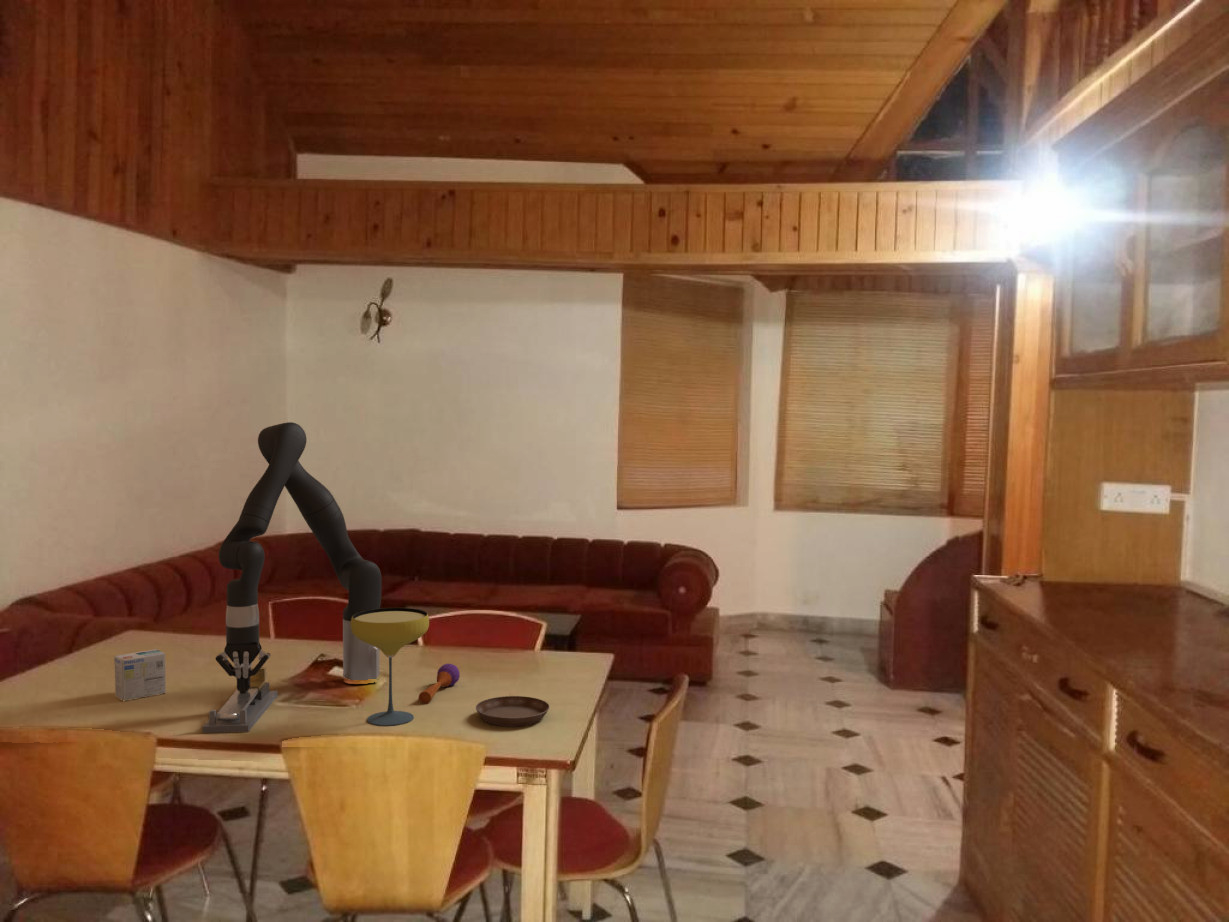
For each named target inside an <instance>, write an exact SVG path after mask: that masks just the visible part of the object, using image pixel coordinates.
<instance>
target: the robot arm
mask: <svg viewBox="0 0 1229 922" xmlns="http://www.w3.org/2000/svg"><path fill="white" fill-rule="evenodd" d="M257 445H258V449H259V450H260V453H261V455H262V456H263V458H264V460H265V461H266V462H267V463H268V465H267V466H268V467H267V468H266V470H265V471H264V473H263V474H262V476H261V477H260V478H259V479H258V481H257V483H256V484H255V485H254V487H253V488H252V489H251V491H250V493H249V494H248V496H247V498H246V499H245V502H244V505H243V507H242V510H241V512H240V516H239V517H238V521H237V522H236V523H235V525H234V526H233V527H232V529H231V530H230V531H229V533H228V535H226V537H225V538H224V540H223V542H222V543H221V545H220V547H219V551H218V560H219V563H220V565H221V566H222V567H223V568H225V569H228V570H238V571H241V574H240V577H239V578H235V579H232V580H230V581H228V583H227V584H226V611H225V635H226V636H225V637H226V639H225V640H226V641H225V642H226V644H225V646H224V649H223V650H224V651H223V652H221V653H219V654H218V655H216V657H215V661H216V662H217V663H218V664H219V665H220V667H221V668H222V669H223V671H225V673H226V674H227V675H228V676H229V677H235V679H236V690H238V691H239V692H240V693H246V692H247V691H248V690H249V689H250V677H251V676H254V675H255V674H256V673H257V672H258V671H259V670H260V668H261V667H263V666H264V665H265V664H266V662H267V661H268V660H269V658H270V657H271V653H270V652H266V651H264V650H262V649H263V647H262V645H261V643H260V611H259V610H260V609H259V604H258V603H259V602H258V601H259V599H258V597H259V596H258V594H259V592H258V587H259V582H260V579H261V575H262V571H263V568H264V565H265V560H266V559H265V558H266V557H265V556H266V555H265V551H264V548H263V546H262V545H261V543H259V542H257V541H251V540H252V539H253V538H256V537H260V536H263V535H265V534H266V533H267V530H268V529H269V525H270V522H271V520H272V516H273V515H274V511H275V509H276V507H277V503H278V501H279V499H280V496H281V495H282V492H283V490H284V488H286V490H287V492H288V494H289V495H290V497H291V499H292V500H293V501H294V503H295V505H296V507H297V509H298V510H299V512H300V514H301V515H302V518H303V519H304V521H305V522H306V524H307V526H308V527H309V529H310V530H311V531H312V534H313V535H314V537H315V538H316V540H317V542H318V543H319V544H320V546H321V548H322V549H323V550H324V551H325V554H326V555H327V557H328V559H329V562H330V563H331V566H332V568H333V570H334V572H335V575H336V576H337V577H336V578H337V579H338V581H339V583H340V585H341V586H342V587H343V588H344V589H345V590H347V591H348V599H347V600H348V602H347V606H345V607H344V608H343V611H342V666H343V667H342V669H343V671H342V678H343V677H345V678H347V679H350V680H368V679H377V677H378V675H379V676H380V649H379V648H377V647H375V646H372V645H370V644H368V643H365V642H363V641H361V640H360V639H358V638H357V637H356V636H355V635H354V634H353V633H352V629H351V619H352V616H353V615H354V614H356V613H359V612H362V611H366V610H372V609H381V604H382V588H383V587H382V584H383V583H382V573H381V570H380V568H379V566H378V565H377V564H376V563H374V561H371V560H367V559H364V558H363V557H362V556H361V555H360V553H359V552H358V551H357V549H356V547H355V546H354V544H353V542H352V541H351V539H350V537H349V533H348V529H347V526H346V520H345V517H344V514H343V512H342V509H341V507H340V506H339V503H338V502H337V501H336V499H335V497H334V495H333V494H332V492H331V490H329V489H328V488H327V487H326V486H325V485H324V484H322V482H320V481H319V480H317V479H316V478H315V477H314V476H313V475H312V474H310V472H308V471H307V470H306V469H305V468H304V466H303V465H302V464H301V462H300V461H299V460H300V458H301V456H302V455H303V453H304V450H305V448H306V445H307V435H306V432H305V430H304V428H303V427H302V426H301V425H300V424H298V423H296V422H292V421H291V422H288V421H287V422H283V423H278V424H274V425H271V426H266V427H265V428H263V429H262V430H261V431H260V432H259V433H258V436H257ZM257 657H258V658H257ZM228 658H229V659H228ZM256 658H257V659H258V660H259V661H258V663H257V664H256V665H255V666H254V667H255V668H254V669H252V670H251V667H252V665H253V662H254V661H255V659H256ZM230 661H231V662H232V663H233V664H232V663H231V662H230Z"/></svg>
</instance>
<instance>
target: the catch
mask: <svg viewBox="0 0 1229 922" xmlns="http://www.w3.org/2000/svg"><path fill="white" fill-rule="evenodd" d="M254 668H255V666H253V667H252V666H251V670H252V669H254ZM266 679H267V667H266V666H264V667H263V666H262V667H261V668H260V670H259V671H258V672H257V673H256V674H255V675H254V676H251V677H250V689H258V690H260V689H261V688H262V687H263V686H264V685H265V682H266Z"/></svg>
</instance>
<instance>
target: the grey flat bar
mask: <svg viewBox="0 0 1229 922" xmlns="http://www.w3.org/2000/svg"><path fill="white" fill-rule="evenodd" d="M257 693H258V689H249V690H248V691H247V692H246V693H240V692H239V691H238V690H237V689H235V691H234V692H233V693H232V695H231V696H230V697H229V699H227V701H226V702H225V703H226V704H225V703H224V704H225V705H224V704H223V705H224V706H223V705H222V706H223V707H222V706H221V707H222V709H221V710H220V711H219V712H218V714H217V721H222V720H238V718H239V717H240V710H241V709H247V707H248V706H249V704H250V703H251V702H252V700H253V699H254V698H255V696H256V695H257Z"/></svg>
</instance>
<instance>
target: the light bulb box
mask: <svg viewBox="0 0 1229 922" xmlns="http://www.w3.org/2000/svg"><path fill="white" fill-rule="evenodd" d="M114 680H115V681H114V687H115V689H114V691H115V697H116V696H117V697H119V698H120V699H122V700H129V699H134V700H136V699H135V698H139V699H141V698H140V697H145V698H148V697H147V696H150V697H152V696H151V695H155V696H158V695H157V694H161V695H164V694H163V693H165V694H166V693H167V687H166V653H165V652H164V651H161V650H159V649H157V648H154V649H150V650H149V649H148V650H143V651H136V652H130V653H125V654H119V655H118V654H117V655H114ZM117 697H116V698H117ZM120 699H119V700H120ZM129 701H130V700H129Z"/></svg>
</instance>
